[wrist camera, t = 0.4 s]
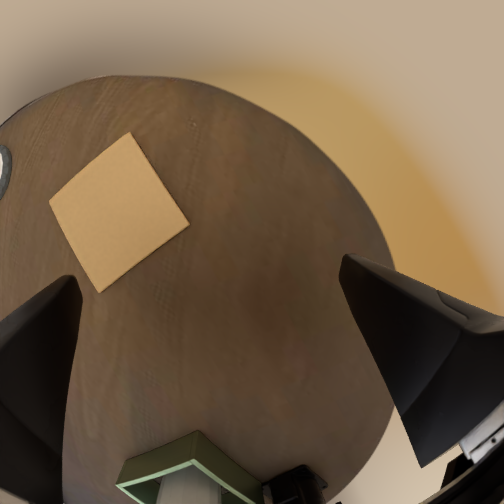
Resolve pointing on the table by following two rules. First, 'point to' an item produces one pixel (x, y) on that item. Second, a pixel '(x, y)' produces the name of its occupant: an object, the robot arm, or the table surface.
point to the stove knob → (4, 168)
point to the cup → (188, 488)
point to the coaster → (116, 212)
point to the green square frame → (183, 455)
